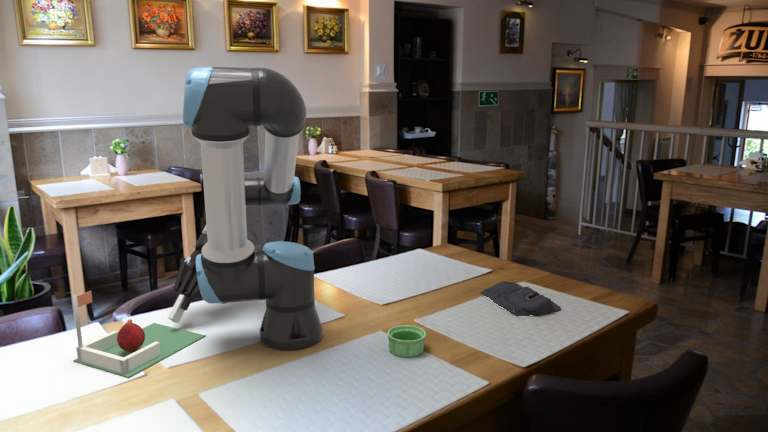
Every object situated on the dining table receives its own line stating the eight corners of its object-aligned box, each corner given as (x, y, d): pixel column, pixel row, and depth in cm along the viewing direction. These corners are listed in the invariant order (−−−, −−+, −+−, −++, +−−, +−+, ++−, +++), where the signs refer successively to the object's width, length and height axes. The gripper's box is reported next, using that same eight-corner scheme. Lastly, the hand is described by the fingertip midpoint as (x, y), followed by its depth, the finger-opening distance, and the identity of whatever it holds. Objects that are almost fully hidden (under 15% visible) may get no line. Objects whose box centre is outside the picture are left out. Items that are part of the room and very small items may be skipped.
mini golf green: (160, 354, 131) (155, 292, 127) (124, 374, 122) (117, 307, 119) (115, 342, 137) (109, 282, 133) (77, 360, 128) (70, 296, 125)
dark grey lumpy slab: (518, 287, 178) (519, 273, 177) (565, 313, 158) (566, 297, 157) (475, 294, 173) (476, 279, 172) (518, 321, 153) (519, 304, 152)
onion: (137, 359, 128) (132, 325, 126) (114, 358, 129) (108, 324, 127) (151, 347, 134) (147, 315, 132) (129, 346, 135) (124, 314, 133)
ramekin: (398, 362, 129) (399, 344, 128) (380, 346, 137) (380, 329, 136) (432, 354, 133) (433, 336, 132) (413, 339, 141) (413, 322, 140)
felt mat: (205, 336, 141) (205, 335, 141) (128, 378, 121) (128, 376, 121) (154, 324, 148) (154, 322, 148) (73, 361, 128) (73, 360, 128)
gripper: (241, 249, 154) (201, 331, 143) (202, 243, 160) (162, 322, 148) (227, 235, 148) (184, 318, 137) (187, 229, 154) (144, 309, 143)
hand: (173, 320), depth 143 cm, fingers closed
